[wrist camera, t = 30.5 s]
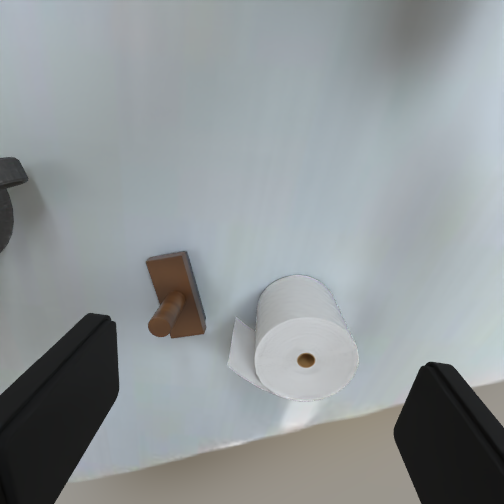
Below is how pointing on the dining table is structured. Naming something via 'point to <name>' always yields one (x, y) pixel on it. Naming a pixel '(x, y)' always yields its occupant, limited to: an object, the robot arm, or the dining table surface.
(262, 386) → the toilet tissue
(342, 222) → the dining table surface
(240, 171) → the dining table surface
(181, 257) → the brush
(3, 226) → the tankard
